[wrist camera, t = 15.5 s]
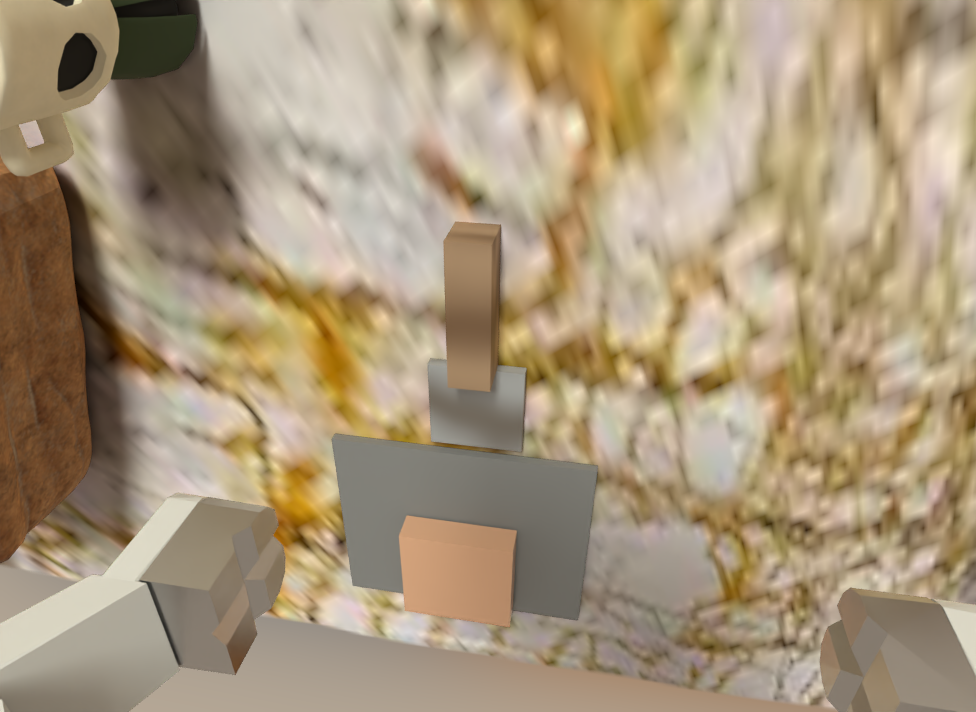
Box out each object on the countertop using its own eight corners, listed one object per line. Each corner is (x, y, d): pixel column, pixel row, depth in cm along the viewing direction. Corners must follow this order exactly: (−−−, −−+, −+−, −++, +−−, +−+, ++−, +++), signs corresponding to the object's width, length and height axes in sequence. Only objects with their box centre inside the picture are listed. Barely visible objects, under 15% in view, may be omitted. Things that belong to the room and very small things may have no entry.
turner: (424, 219, 36) (410, 239, 34) (533, 226, 35) (526, 247, 33) (434, 433, 44) (422, 462, 42) (523, 444, 43) (517, 474, 41)
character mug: (236, 118, 35) (62, 194, 24) (118, 120, 36) (-99, 194, 25) (175, -136, 29) (-87, -186, 19) (37, -123, 31) (-285, -162, 20)
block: (512, 552, 45) (509, 627, 49) (517, 528, 46) (513, 603, 51) (398, 536, 46) (405, 610, 50) (407, 513, 48) (412, 587, 52)
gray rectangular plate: (597, 465, 43) (597, 471, 43) (578, 613, 51) (577, 620, 50) (335, 433, 46) (331, 439, 45) (355, 579, 53) (352, 585, 53)
